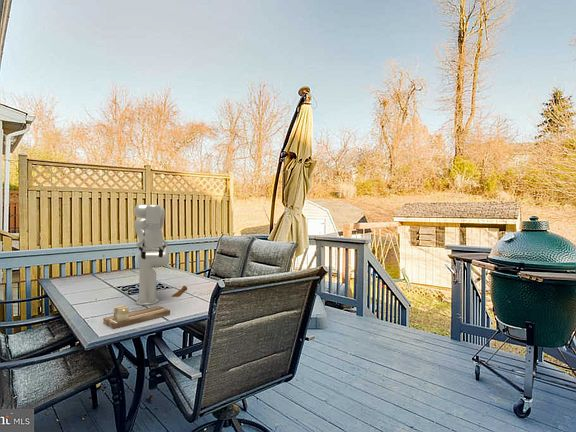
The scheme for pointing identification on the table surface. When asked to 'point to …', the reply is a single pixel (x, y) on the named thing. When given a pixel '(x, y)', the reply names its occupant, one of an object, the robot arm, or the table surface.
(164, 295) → the table surface
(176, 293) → the primitive tool
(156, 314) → the board
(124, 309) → the marking gauge
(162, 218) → the robot arm
